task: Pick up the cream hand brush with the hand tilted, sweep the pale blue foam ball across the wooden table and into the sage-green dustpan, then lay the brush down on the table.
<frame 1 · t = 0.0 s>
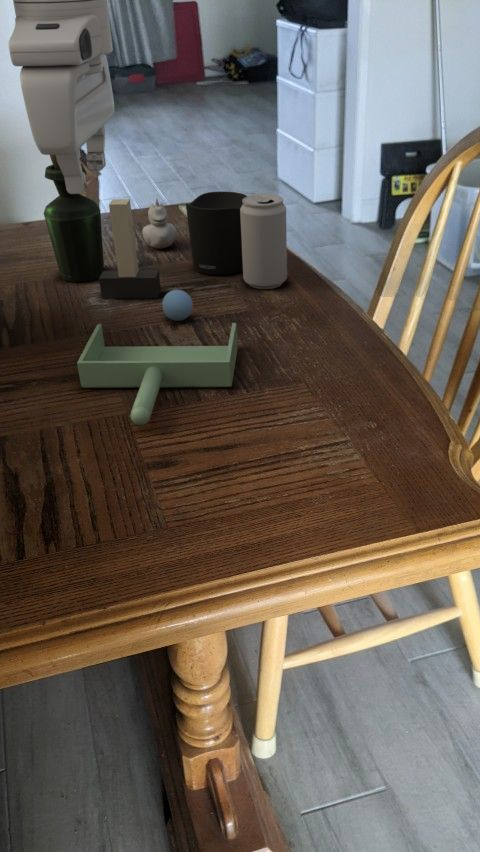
hand: (87, 180, 85), 20 cm above the table, tool pointing down, fingers open, 8 cm apart
dustpan: (163, 367, 93), on the table
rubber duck: (160, 247, 129), on the table
pen holder: (221, 267, 120), on the table
brush: (131, 294, 112), on the table
beverage can: (265, 284, 114), on the table
potion bottle: (82, 276, 119), on the table
foam ball: (178, 319, 104), on the table
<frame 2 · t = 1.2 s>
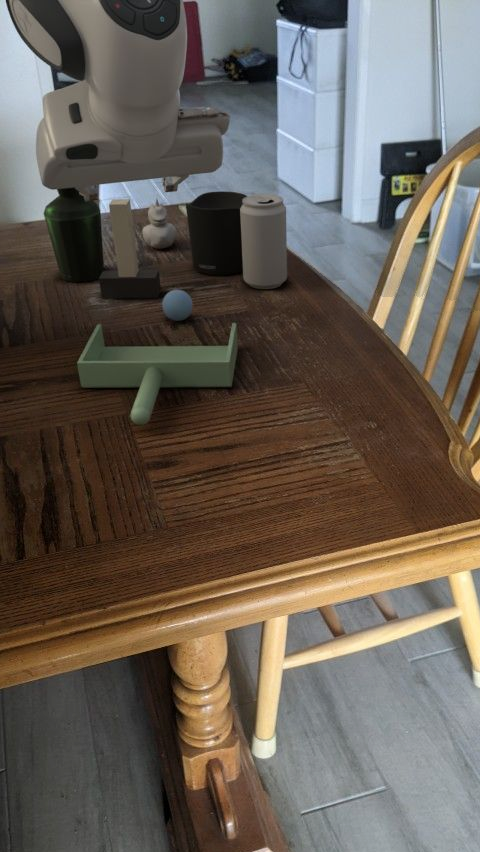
hand: (130, 191, 92), 17 cm above the table, tool tilted 45°, fingers open, 8 cm apart
nothing on the table moved.
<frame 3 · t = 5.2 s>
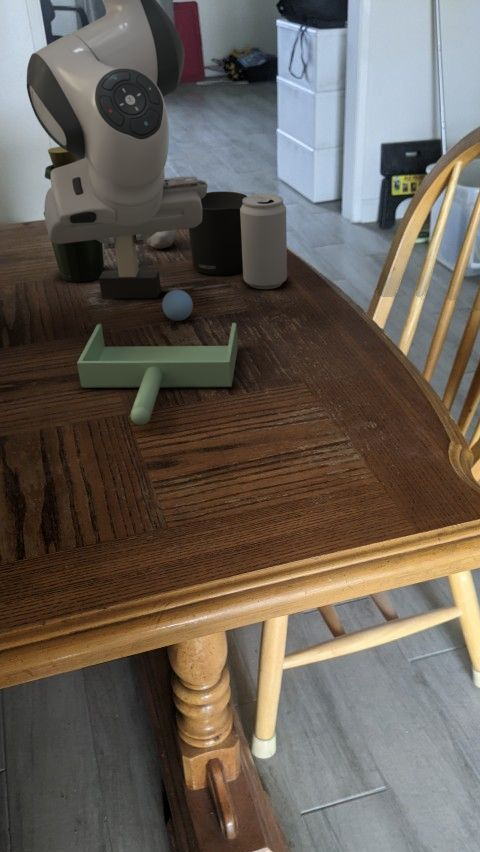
hand: (124, 241, 108), 7 cm above the table, tool tilted 45°, fingers closed on brush, 3 cm apart
brush: (131, 294, 112), on the table, touching gripper
everything else where it was.
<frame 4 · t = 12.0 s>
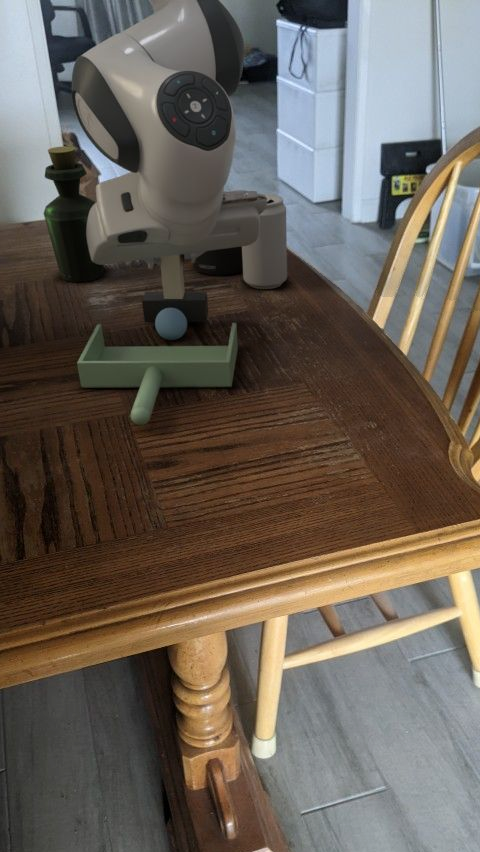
hand: (170, 260, 98), 8 cm above the table, tool tilted 45°, fingers closed on brush, 3 cm apart
brush: (176, 317, 102), point 1 cm above the table, touching gripper
foam ball: (169, 308, 97), point 4 cm above the table, tilted 172°
everything else where it was.
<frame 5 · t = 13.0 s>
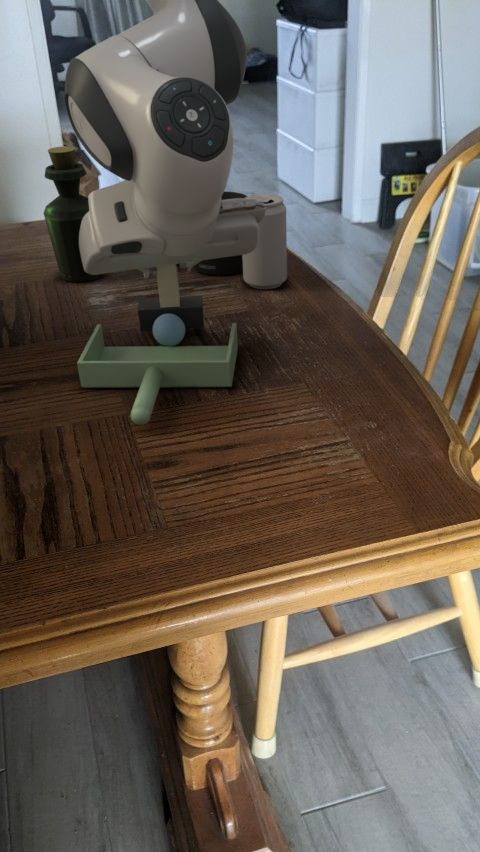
hand: (165, 269, 95), 9 cm above the table, tool tilted 45°, fingers closed on brush, 3 cm apart
brush: (172, 323, 100), point 1 cm above the table, tilted 6°, touching foam ball, gripper
foam ball: (166, 324, 94), point 3 cm above the table, tilted 135°, touching brush, dustpan
everything else where it was.
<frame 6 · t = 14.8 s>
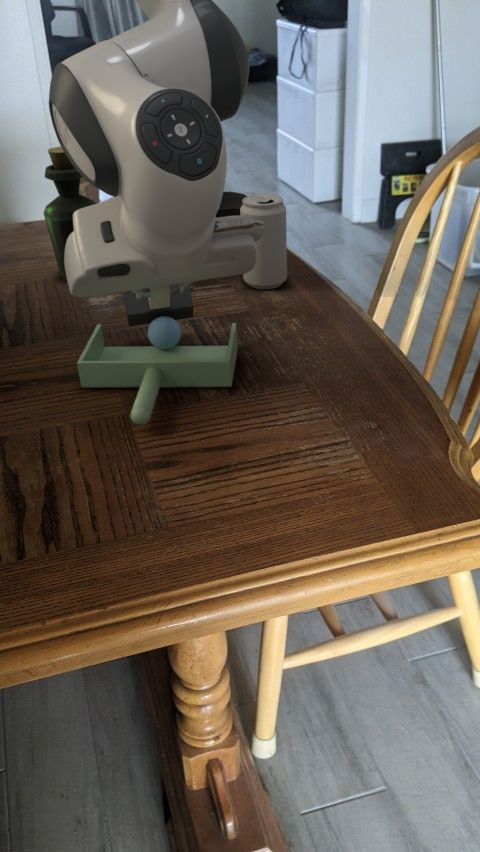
hand: (158, 290, 90), 9 cm above the table, tool tilted 45°, fingers closed on brush, 2 cm apart
brush: (159, 311, 97), point 4 cm above the table, tilted 41°, touching foam ball, gripper
foam ball: (163, 340, 93), point 2 cm above the table, tilted 88°, touching brush, dustpan
everything else where it was.
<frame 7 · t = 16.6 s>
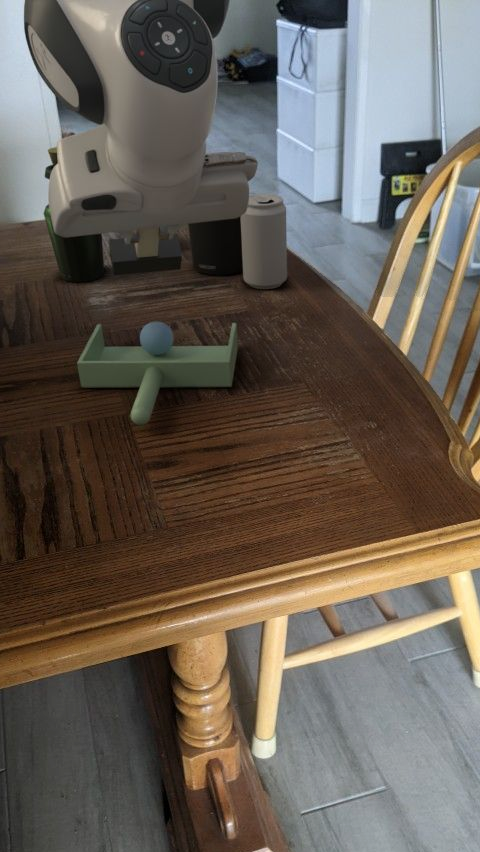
hand: (147, 235, 86), 15 cm above the table, tool tilted 45°, fingers closed on brush, 2 cm apart
brush: (145, 261, 93), point 10 cm above the table, tilted 41°, touching gripper
foam ball: (159, 354, 93), point 1 cm above the table, tilted 45°, touching dustpan
everything else where it was.
when the fingers open (6 cm above the table, at t = 21.9 s): brush moves 1 cm and tips over, point 2 cm above the table.
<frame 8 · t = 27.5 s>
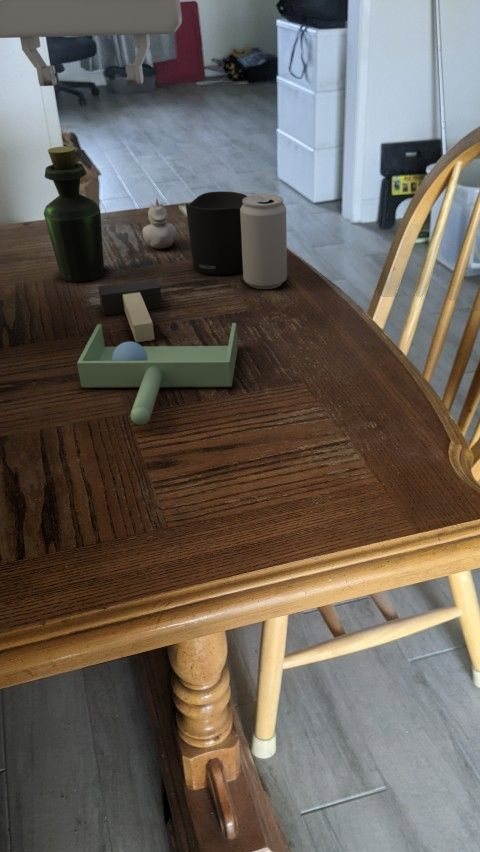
hand: (91, 84, 83), 29 cm above the table, tool pointing down, fingers open, 8 cm apart
brush: (128, 293, 108), point 2 cm above the table, tilted 92°
foam ball: (140, 345, 89), point 4 cm above the table, tilted 130°, touching dustpan
everything else where it was.
at the end: foam ball inside the target area in the dustpan (2.1 cm from its centre), point 3.7 cm above the dustpan's base; the gripper is holding nothing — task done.
